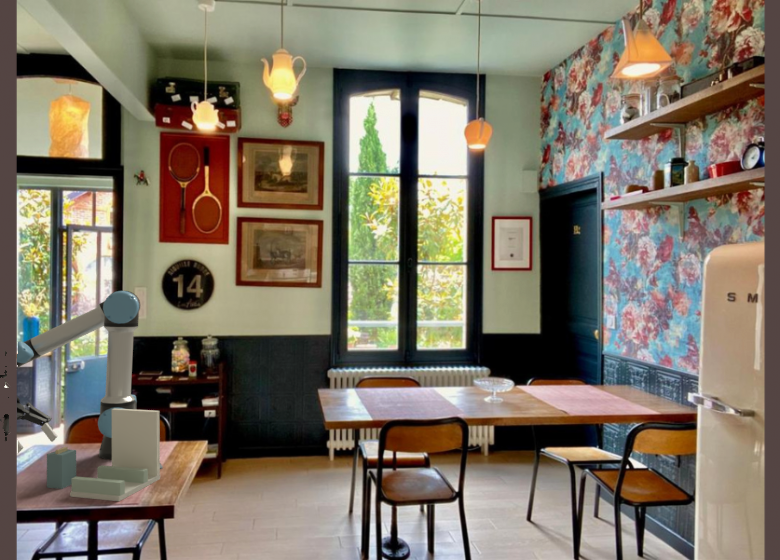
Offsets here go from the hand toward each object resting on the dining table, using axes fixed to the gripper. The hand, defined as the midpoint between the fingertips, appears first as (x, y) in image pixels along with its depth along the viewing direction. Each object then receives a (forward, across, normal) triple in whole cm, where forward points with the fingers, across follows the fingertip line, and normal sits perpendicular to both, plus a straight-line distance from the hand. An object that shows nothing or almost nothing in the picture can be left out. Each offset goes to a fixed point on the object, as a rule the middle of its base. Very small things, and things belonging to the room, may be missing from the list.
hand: (38, 444), depth 187 cm
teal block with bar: (+16, 0, -3) cm, 16 cm away
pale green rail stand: (+30, -3, +11) cm, 32 cm away
